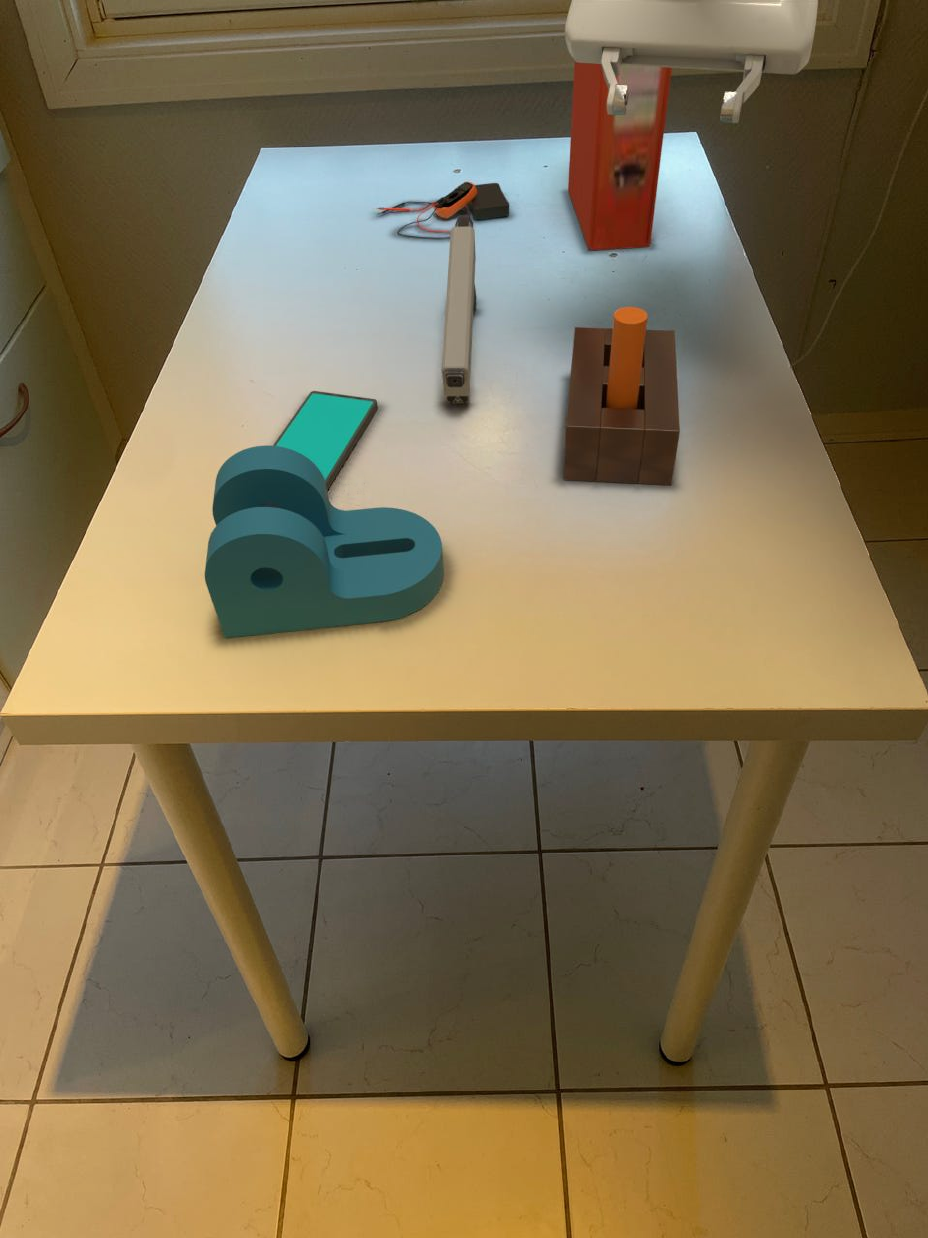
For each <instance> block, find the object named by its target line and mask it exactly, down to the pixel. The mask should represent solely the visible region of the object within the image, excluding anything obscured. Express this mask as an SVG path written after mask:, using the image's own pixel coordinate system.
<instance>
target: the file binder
mask: <svg viewBox="0 0 928 1238" xmlns="http://www.w3.org/2000/svg"><path fill="white" fill-rule="evenodd" d="M672 69H673V68H667V67H649V66H631V65H621V70H620V75H618V76H615V77H616V80H617V83H618V85H626V86H627V87H628V95H629V97H628V103H627V105H626V113H625V115H609V114H608V113H607V99H608V94H609V89H608V87H607V84H606V81H605V79H604V76H603V70H602V64H594V63H578V62H575V61H574V67H573V85H572V103H571V104H572V105H571V106H572V107H571V122H570V124H571V126H570V143H569V144H570V145H569V162H568V163H569V165H568V166H569V167H568V181H567V182H568V183H567V192H568V195H569V198H570V199H571V203H572V206H573V210H574V212H575V215H576V217H577V221H578V223H579V226H580V229H581V233H582V234H583V235H582V236H583V238H584V240H585V243H586V246H587V249H588V250H591V251H602V250H603V251H604V250H620V249H634V248H649V247H650V245H651V242H652V236H653V235H652V234H653V227H654V217H655V209H656V200H657V193H658V183H659V177H660V168H661V160H662V159H661V158H662V152H663V143H664V134H665V127H666V120H667V119H666V117H667V110H668V102H669V94H670V85H671V76H672Z"/></svg>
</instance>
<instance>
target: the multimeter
mask: <svg viewBox="0 0 928 1238" xmlns="http://www.w3.org/2000/svg"><path fill="white" fill-rule="evenodd" d="M411 203H413V204H427V205H425V206H423V207H421V208H418V209H412V208H405V207H404V208H403V206H405V205H406V204H411ZM430 205H432V206H430ZM428 206H430V207H428ZM468 206H469V207H468ZM427 207H428V208H427ZM464 207H465V208H466V210H467V211H465V210H462V209H463V208H464ZM469 208H470V209H469ZM373 209H376V210H380V211H381V212H379V213H377V214H376V215H381V214H385V213H387V212H390V211H400V212H410V211H421V210H423V211H421V213H420V214H418V216H417V218H416V221H413V222H410V223H406V224H405V225H403V226H402V227H400V228H399V229H398V230H397V232H396V234H397V235H400V236H403V237H407V238H417V239H435V240H440V239H441V240H442V239H443V240H445V239H450V236H448V237H447V236H446V237H445V236H444V237H433V236H432V237H430V236H429V237H428V236H416V235H407V234H402V233H399V232H400V231H401V230H402V229H404V228H405V227H408V226H410V225H413V224H416V223H417V225H418V226H419V227H420V228H421V229H422V230H425V231H428V232H434V233H435V232H437V233H451V230H433V229H428V228H425V227H422V225H421V224H420V223H423V222H426V221H428V220H429V219H430V218H431V217H432V216H433V215H434V213H435V214H436V215H437V216H438V217H440V218H442V219H449V218H451V217H452V216H453V215H454V214H456V213H457V212H462V213H465V214H466V215H469V216H470V217H471V214H470V210H471V213H472V216H473V218H474V219H475V220H482V219H483V220H484V219H491V218H498V217H506V216H507V217H508V216H509V215H510V203H509V201H508V199H507V198H506V196H505V194H504V193H503V190H502V189H501V185H500V184H499V183H498V182H489V183H481V184H475V183H473V182H471V181H464V182H462V183H461V184H459V185H458V186H456V188H454V189H453V190H452V191H451V192H449V193H448V194H447V195H445V196H442V197H440V198H439V199H437V200H436V201H432V202H429V201H406V202H402V203H399V204H397V205H395V206H392V207H384V206H383V207H373ZM424 209H425V210H424ZM430 209H434V210H433V211H432V213H431V214H430V215H429V217H427V218H426V219H422V220H419V218H420V216H421V215H422V214H424V213H426V212H427V211H428V210H430Z"/></svg>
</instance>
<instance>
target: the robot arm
mask: <svg viewBox="0 0 928 1238" xmlns="http://www.w3.org/2000/svg"><path fill="white" fill-rule="evenodd" d="M818 7H819V0H571V2H570V6H569V8H568V13H567V16H566V21H565V26H564V40H565V45H566V49H567V51H568V53H569V55H570V57H571V58H572V59H573V61H574V63H575V62H578V63H594V64H602V70H603V76H604V79H605V81H606V84H607V87H608V89H609V94H608V99H607V113H608V114H609V115H625V113H626V105H627V103H628V97H629V95H628V87H627V86H626V85H618V83H617V80H616V77H615V76H618V75H620V70H621V65H631V66H649V67H667V68H672V69H686V70H687V69H689V70H704V71H705V70H706V71H722V72H724V71H725V72H741V73H743V77H742V81H741V83H740V84H739V85H738V87H737V88H736V90H735V91H724V95H723V100H722V105H721V108H720V109H721V110H720V116H719V117H720V120H719V123H728V124H729V123H730V124H739V121H740V115H741V111H742V105H743V104H745V102H746V101H747V100H749V98H750V96H751V95H752V94H753V93H754V92H755V91H756V90H757V88H758V87H759V86H760V84H761V78H762V74H775V75H776V74H779V75H796V74H799V73H800V72H801V71H802V70H803V69H804V68H805V67H806V66H807V65H808V64H809V62H810V58H811V54H812V49H813V43H814V38H815V31H816V24H817V16H818Z"/></svg>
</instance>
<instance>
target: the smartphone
mask: <svg viewBox="0 0 928 1238" xmlns="http://www.w3.org/2000/svg"><path fill="white" fill-rule="evenodd" d="M377 409H378V400H377V399H376V398H370V397H363V396H362V397H361V396H356V395H347V394H341V393H335V392H334V393H333V392H326V391H319V390H312V391H310V392H309V394H307V396H306V398H305V399H304V401H303V402H302V404H301V405H300V406H299V408H298V409H297V411H296V412H295V414H293V416H292V418H291V419H290V421H289V422H288V423H287V425H286V426H285V428H284V429H283V431H282V432H281V434H279V436H278V438H277V439H276V440H275V442H274V443H273V445H272V446H279V447H284V448H288V449H291V450H294V451H296V452H298V453H300V454H302V455H304V456H305V457H307V458H308V459H310V460H311V461H312V462H313V463H314V464H315V465H316V466H317V467H318V468H319V470H320V471H321V473H322V475H323V477H324V480H325V483H326V488H327V491H328V490H329V488H330V487H331V485H332V483H333V482H334V480H335V479H336V477H337V475H338V474H339V472H340V470H341V469H342V467H343V465H344V464H345V462H346V460H347V459H348V457H349V456H350V454H351V452H352V451H353V449H354V447H355V446H356V444H357V442H358V441H359V439H360V438H361V436H362V435H363V433H364V431H365V429H366V427H367V426H368V425H369V423H370V422H371V419H372V418H373V417H374V415H375V413H376V411H377Z"/></svg>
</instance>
